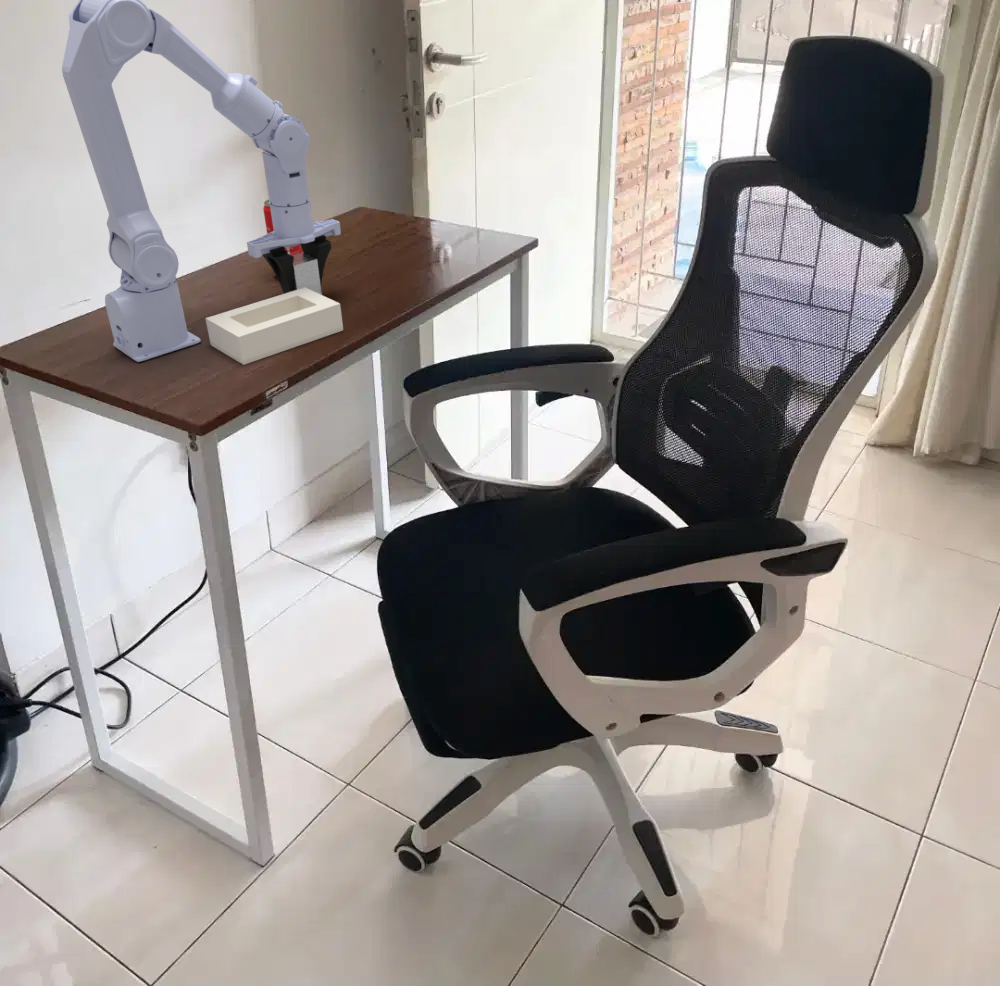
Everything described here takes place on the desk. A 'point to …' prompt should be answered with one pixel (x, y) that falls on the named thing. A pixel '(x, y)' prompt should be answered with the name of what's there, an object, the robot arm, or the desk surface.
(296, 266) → the grey rectangular block
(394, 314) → the desk surface
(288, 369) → the desk surface
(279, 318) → the cream rectangular tray
